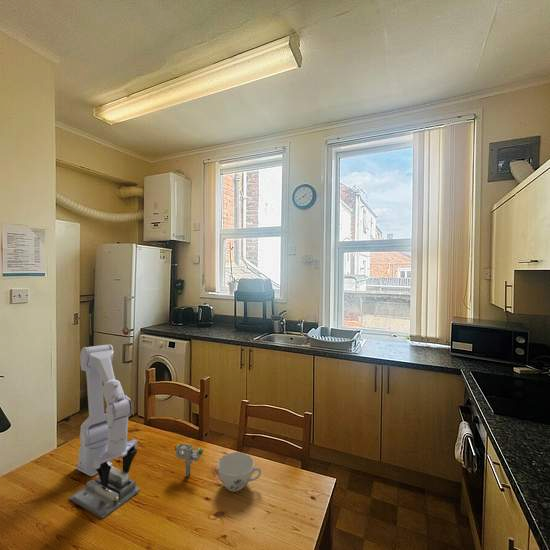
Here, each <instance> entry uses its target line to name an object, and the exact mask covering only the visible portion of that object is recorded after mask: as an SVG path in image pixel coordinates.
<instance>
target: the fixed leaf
mask: <svg viewBox="0 0 550 550" xmlns="http://www.w3.org/2000/svg"><path fill="white" fill-rule="evenodd" d="M140 492H141V488H140V487H139V486H137V484H136V481H135V480H133V479H131V478H129V477H128V485H127V486H126V487H124V488H123V489H119V488H117V487H115V486H113V485H111V484H109V483H108V485H107V486H106V487H104V486H102V485H101V480H100V477H99V476H98V477H96V478H94V480H93V479H90V480H89V481H87V482H86V484H85V486H84V487H82V488H81V489H80V490H78V491H76V492H75V493H73V494H72V495H70V496H69V499H68V500H69V501H72V502H73V503H74V504H76V505H78V506H80V507H81V508H83V509H84V510H86V511H87V512H90V513H92V515H94V516H96V517H98V518H100V519H102V520H103V519H104V518H106V517H107V516H108V515H110V514H111V513H113V512H114V511H115V510H116V509H118V508H119V507H121V506H122V505H123V504H125V503H126V502H128V501H129V500H130V499H132V498H133V497H134V496H136V495H137V494H139V493H140Z"/></svg>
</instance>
